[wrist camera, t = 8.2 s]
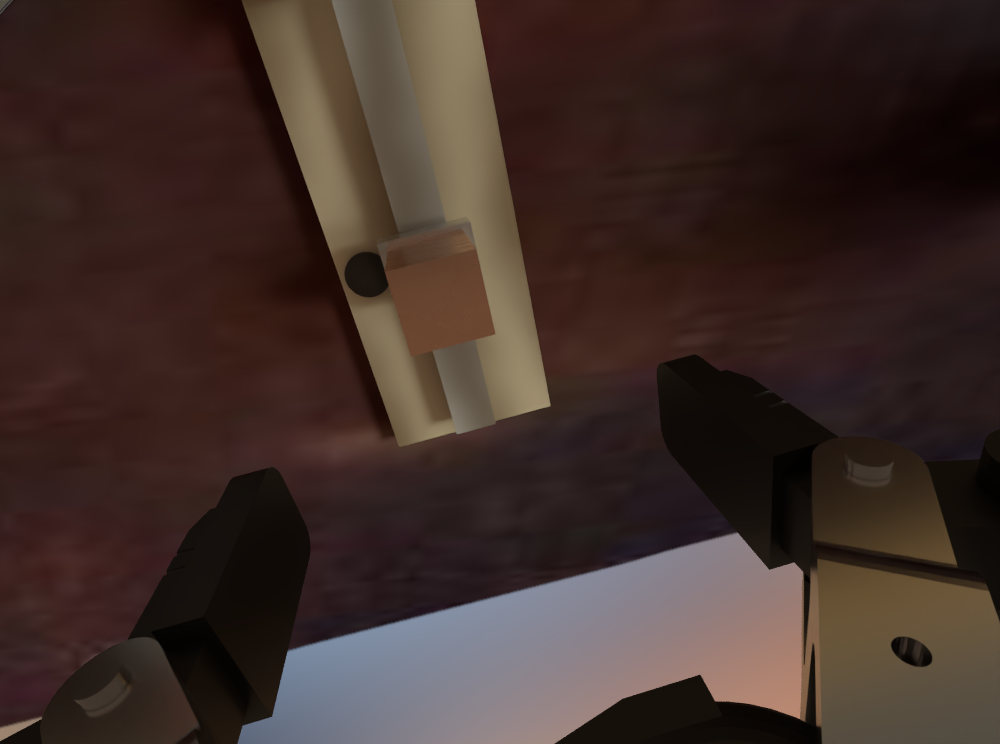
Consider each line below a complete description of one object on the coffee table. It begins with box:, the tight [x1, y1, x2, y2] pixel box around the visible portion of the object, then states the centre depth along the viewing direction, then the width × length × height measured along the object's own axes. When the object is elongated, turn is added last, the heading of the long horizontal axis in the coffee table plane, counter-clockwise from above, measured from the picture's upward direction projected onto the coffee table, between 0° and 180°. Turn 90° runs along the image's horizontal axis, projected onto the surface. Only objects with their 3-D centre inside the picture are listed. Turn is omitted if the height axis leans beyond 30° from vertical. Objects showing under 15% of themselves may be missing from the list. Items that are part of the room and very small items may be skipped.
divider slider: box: [377, 217, 495, 356], centre depth 24 cm, size 4×4×9 cm
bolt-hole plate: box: [242, 0, 550, 447], centre depth 24 cm, size 10×30×6 cm, turn 12°
